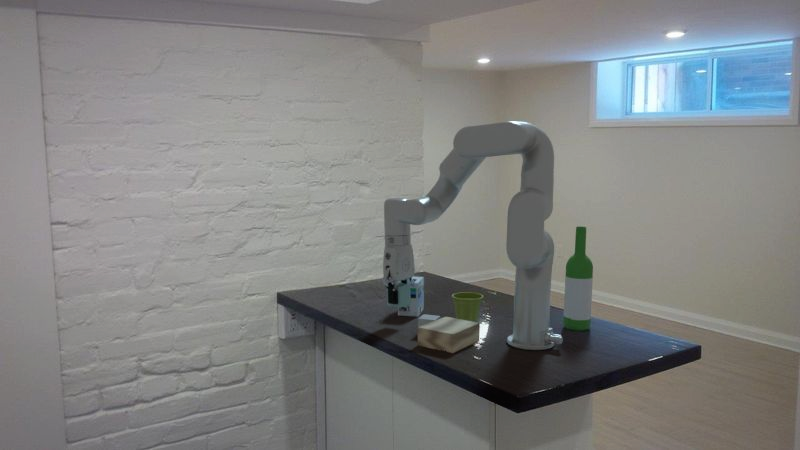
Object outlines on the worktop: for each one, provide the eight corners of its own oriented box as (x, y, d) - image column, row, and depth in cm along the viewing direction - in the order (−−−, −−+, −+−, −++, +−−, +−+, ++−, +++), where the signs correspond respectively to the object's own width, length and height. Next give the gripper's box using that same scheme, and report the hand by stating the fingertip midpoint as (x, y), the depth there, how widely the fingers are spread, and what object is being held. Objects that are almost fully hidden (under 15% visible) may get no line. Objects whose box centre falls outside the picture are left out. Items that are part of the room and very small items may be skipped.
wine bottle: (575, 323, 213) (580, 224, 209) (595, 329, 207) (600, 227, 203) (557, 326, 209) (561, 226, 205) (577, 333, 203) (582, 229, 199)
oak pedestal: (479, 340, 194) (479, 322, 193) (452, 353, 183) (453, 334, 182) (445, 333, 200) (445, 316, 200) (417, 345, 189) (417, 327, 188)
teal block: (410, 304, 208) (410, 284, 208) (400, 307, 204) (400, 287, 204) (396, 302, 211) (396, 282, 211) (387, 305, 207) (386, 285, 207)
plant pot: (447, 326, 208) (447, 297, 207) (455, 318, 217) (456, 290, 216) (478, 329, 205) (479, 300, 204) (485, 321, 214) (486, 293, 213)
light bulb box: (418, 317, 218) (418, 283, 217) (397, 315, 220) (397, 281, 218) (424, 309, 229) (424, 276, 227) (403, 307, 230) (404, 275, 229)
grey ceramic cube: (440, 333, 201) (440, 316, 201) (434, 337, 197) (435, 320, 196) (423, 331, 203) (423, 314, 203) (417, 335, 199) (418, 318, 198)
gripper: (390, 245, 197) (392, 309, 199) (424, 237, 210) (425, 297, 212) (369, 243, 201) (371, 306, 203) (403, 236, 215) (405, 295, 217)
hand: (398, 301), depth 208 cm, fingers closed on teal block, 5 cm apart
